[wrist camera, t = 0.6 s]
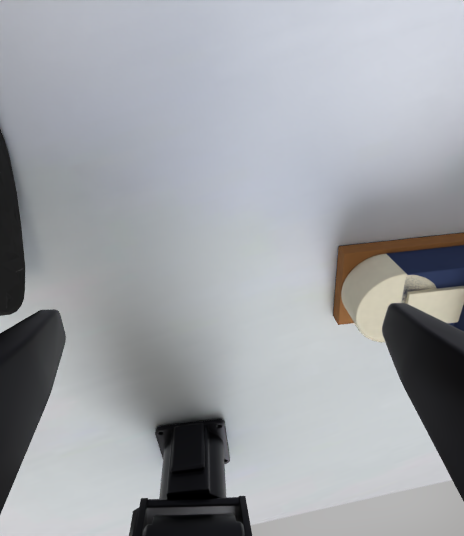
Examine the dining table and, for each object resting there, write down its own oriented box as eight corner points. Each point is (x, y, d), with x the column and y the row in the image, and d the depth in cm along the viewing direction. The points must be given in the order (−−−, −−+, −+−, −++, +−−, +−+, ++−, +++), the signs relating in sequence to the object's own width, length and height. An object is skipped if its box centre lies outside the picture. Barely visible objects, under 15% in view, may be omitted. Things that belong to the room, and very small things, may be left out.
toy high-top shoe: (543, 223, 25) (646, 269, 19) (515, 294, 28) (596, 352, 22) (338, 246, 25) (379, 298, 19) (332, 315, 28) (366, 379, 22)
